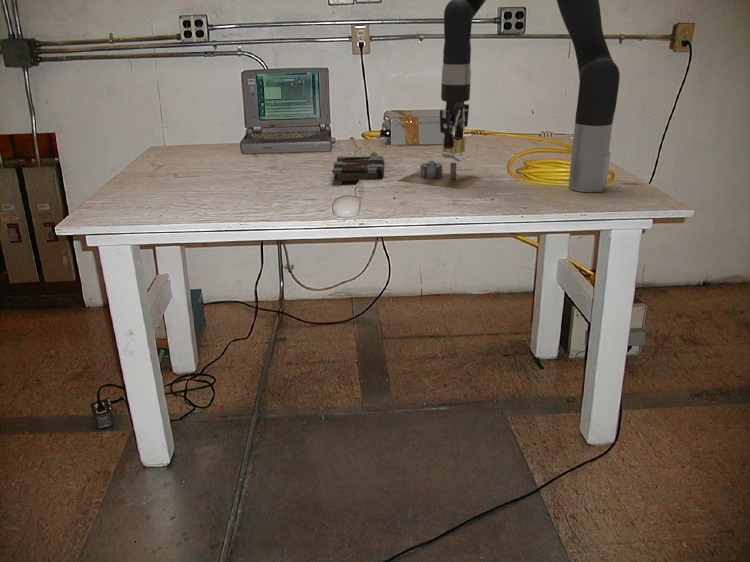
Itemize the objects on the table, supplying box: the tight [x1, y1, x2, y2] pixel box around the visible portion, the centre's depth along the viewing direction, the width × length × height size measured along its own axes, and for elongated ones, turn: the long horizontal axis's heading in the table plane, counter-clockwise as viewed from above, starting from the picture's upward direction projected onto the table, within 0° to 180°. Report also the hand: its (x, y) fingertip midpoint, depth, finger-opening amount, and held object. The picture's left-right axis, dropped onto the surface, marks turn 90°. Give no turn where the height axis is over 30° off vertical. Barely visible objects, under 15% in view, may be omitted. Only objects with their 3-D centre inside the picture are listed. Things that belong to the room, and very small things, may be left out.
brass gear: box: [442, 135, 466, 154], centre depth 169 cm, size 6×6×4 cm
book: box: [331, 151, 385, 186], centre depth 186 cm, size 15×25×5 cm, turn 178°
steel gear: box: [419, 162, 444, 180], centre depth 175 cm, size 6×6×4 cm
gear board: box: [397, 160, 484, 190], centre depth 173 cm, size 20×14×6 cm
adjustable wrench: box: [442, 151, 470, 163], centre depth 200 cm, size 25×6×2 cm, turn 6°
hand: (453, 145), depth 169 cm, fingers closed on brass gear, 6 cm apart
